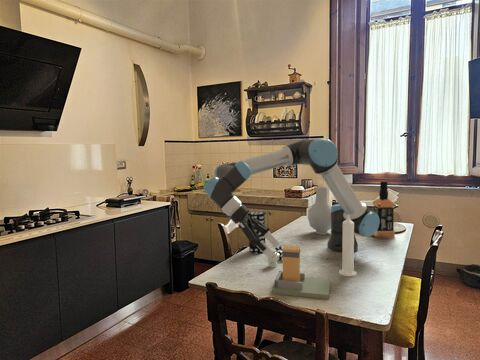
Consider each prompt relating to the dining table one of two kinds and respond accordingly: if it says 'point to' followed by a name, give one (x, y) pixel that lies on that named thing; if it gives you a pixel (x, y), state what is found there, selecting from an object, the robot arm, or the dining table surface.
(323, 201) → the vase
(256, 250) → the white-spotted black cylinder
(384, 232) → the whiskey bottle
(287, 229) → the dining table surface
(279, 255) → the valve
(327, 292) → the mounting board
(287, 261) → the orange box
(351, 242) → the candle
